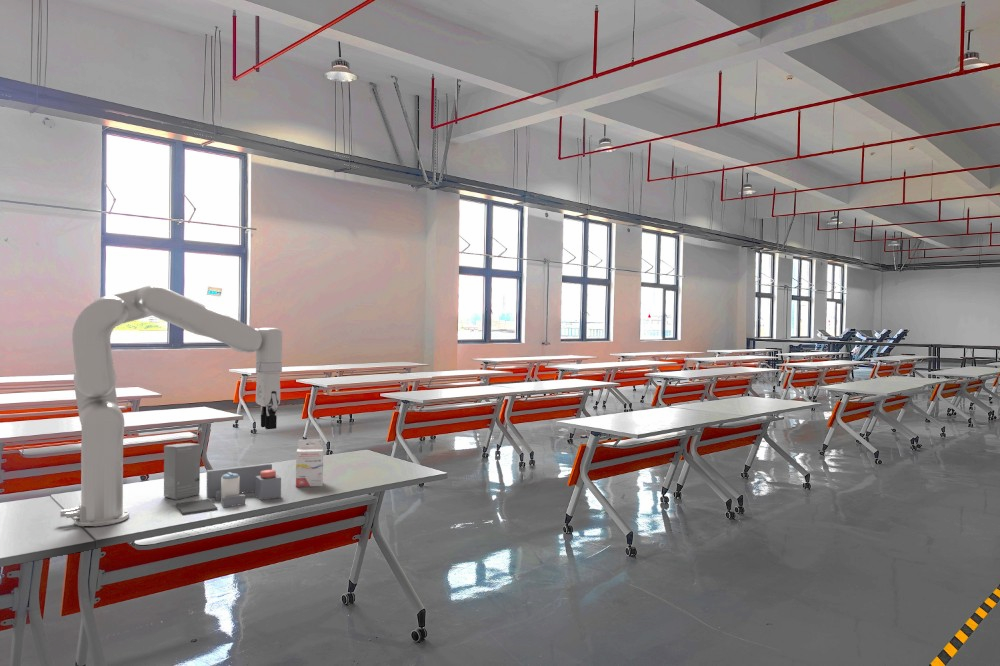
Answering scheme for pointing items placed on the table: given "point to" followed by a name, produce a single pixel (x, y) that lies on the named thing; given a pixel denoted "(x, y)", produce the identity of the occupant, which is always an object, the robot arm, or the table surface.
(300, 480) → the ink cartridge box
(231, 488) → the block
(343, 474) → the table surface
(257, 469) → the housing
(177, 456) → the skincare box
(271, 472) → the plunger
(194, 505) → the mat
